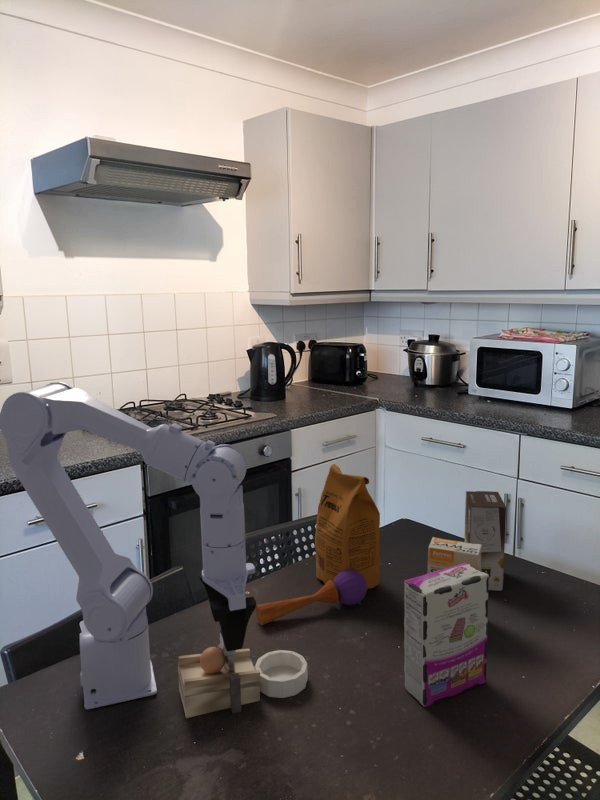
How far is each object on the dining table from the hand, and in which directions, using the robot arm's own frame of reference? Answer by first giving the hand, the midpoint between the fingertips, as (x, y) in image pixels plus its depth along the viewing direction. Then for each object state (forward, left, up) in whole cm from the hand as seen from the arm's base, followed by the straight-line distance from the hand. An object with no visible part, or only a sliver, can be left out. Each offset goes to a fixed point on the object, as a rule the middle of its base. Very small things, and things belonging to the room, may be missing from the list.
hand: (227, 633), depth 84 cm
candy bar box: (+28, -9, -9) cm, 31 cm away
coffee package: (+28, +24, -9) cm, 38 cm away
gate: (0, 0, -5) cm, 5 cm away
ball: (-2, 0, -4) cm, 4 cm away
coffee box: (+52, +16, -9) cm, 56 cm away
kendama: (+18, +16, -9) cm, 26 cm away
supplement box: (+39, +6, -9) cm, 41 cm away
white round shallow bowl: (+7, 0, -9) cm, 12 cm away
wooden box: (-2, 0, -9) cm, 9 cm away
